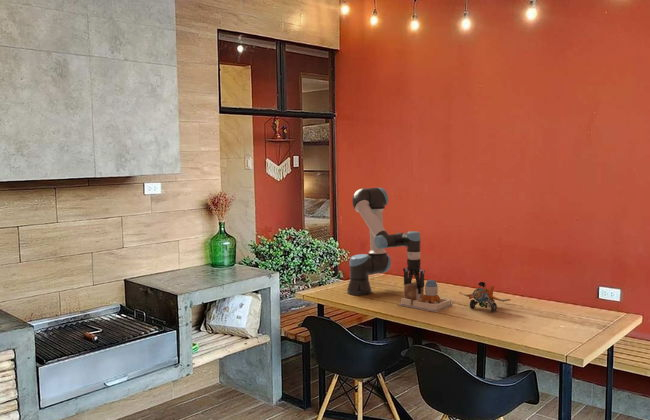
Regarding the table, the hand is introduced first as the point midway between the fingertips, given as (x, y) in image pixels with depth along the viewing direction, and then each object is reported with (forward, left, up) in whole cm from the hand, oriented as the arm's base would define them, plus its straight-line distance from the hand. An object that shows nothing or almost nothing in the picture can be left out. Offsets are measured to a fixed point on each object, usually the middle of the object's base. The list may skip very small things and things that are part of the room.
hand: (414, 298), depth 335 cm
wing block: (0, 0, 0) cm, 0 cm away
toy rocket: (+12, -1, -2) cm, 12 cm away
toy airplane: (+38, +13, -3) cm, 40 cm away
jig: (+8, 0, -3) cm, 8 cm away
